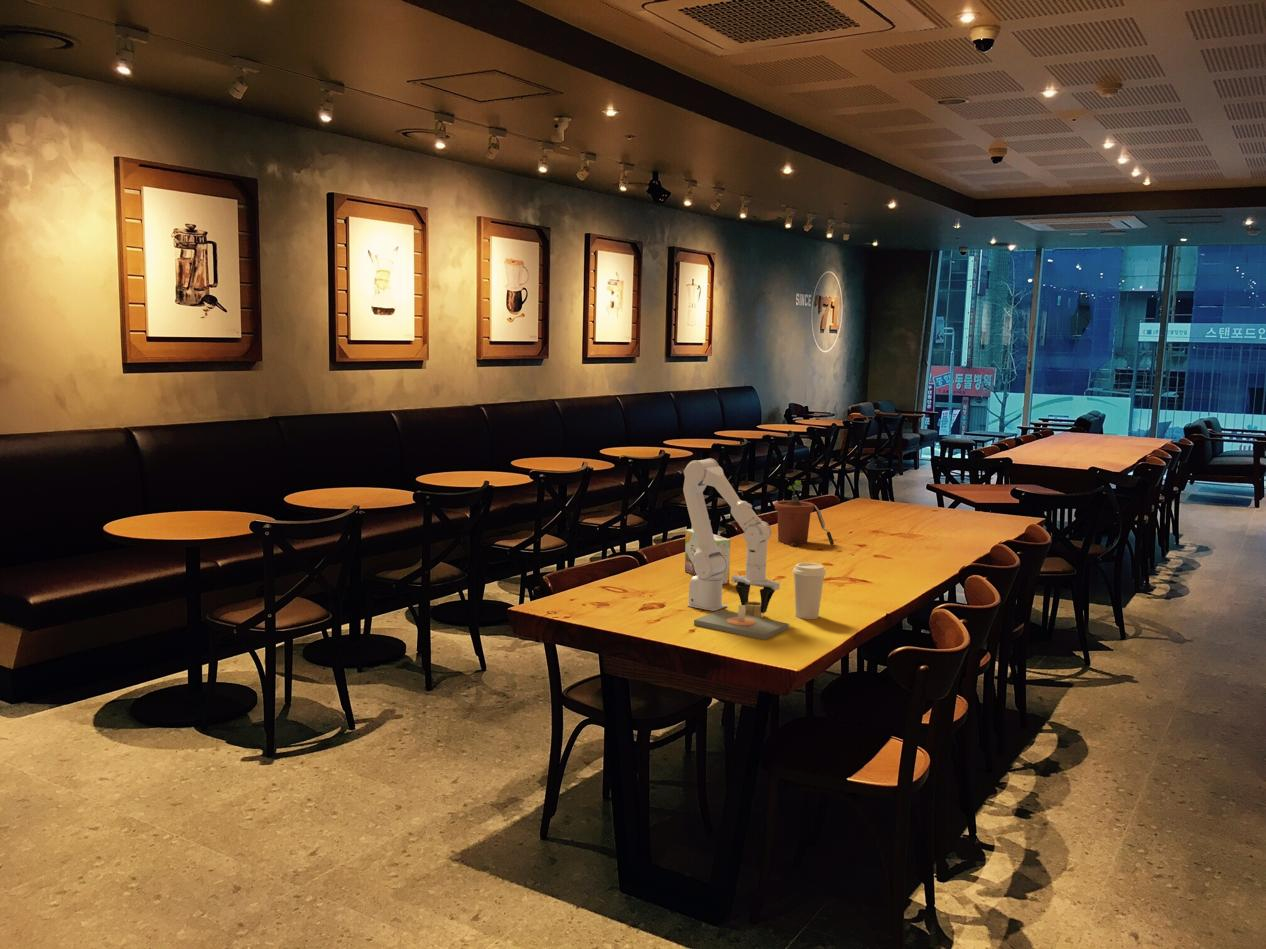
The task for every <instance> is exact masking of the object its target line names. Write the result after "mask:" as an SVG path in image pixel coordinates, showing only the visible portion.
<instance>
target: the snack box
mask: <svg viewBox="0 0 1266 949" xmlns="http://www.w3.org/2000/svg"><path fill="white" fill-rule="evenodd" d="M713 536H714V540H715V543H716V545H718V546H719V547H720V548H721V551H722V554H723V555H724V557H725V558H726V560H727V564H728V565H727V569H726V571H725V572H724V573H723V582H722V585H729V584H730V564H731V563H730V562H731V560H730V558H731V539H729V538H727V537H723V536H721V535H717V534H714V533H713ZM684 537H685V539H684V540H685V541H684V542H685V546H684V548H685V550H684V551H685V552H684V554H685V555H684V557H685V558H684V572H685V573H687V572H688V574H690V575H692V576H694V575H697V574H696V572H695V569H694V565H695V558H694V554H695V552H696V550H697V544H696V540H695V536H694V532H693V528H688V529H685V536H684Z"/></svg>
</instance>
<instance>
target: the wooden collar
mask: <svg viewBox="0 0 1266 949" xmlns="http://www.w3.org/2000/svg"><path fill="white" fill-rule="evenodd" d="M744 605H745V615H747V616H752V617H758V618H763V619H764V617H765V613H761V601H757V600H750V601H749V600H748V601H747V602H745V603H744Z"/></svg>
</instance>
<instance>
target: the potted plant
mask: <svg viewBox="0 0 1266 949" xmlns="http://www.w3.org/2000/svg"><path fill="white" fill-rule="evenodd" d="M801 485H802V482H801V480H795V481H794V487H793V486H792V485H789V486H788V487H787V490H790V491H793V499H790V500H778V501H775V502H774V510H776V511H777V542H778V541H779V542H781V543H785V544H784V545H787V544H790V545H789V547H790V546H794V547H793V548H796V547H795V546H801V547H802V546H804V545H803V544H805V545H807V544H808V541H809V540H808V538H809V531H810V530H809V529H810V521H811V514H812V513H814V509H815V513H816V515H817V518H818V521H819V523H820V524H819V525H820V527H821V529H822V530H823V531H826V536H827V538H828V542H829V544H830V545H834V544H835V541H834V539H833V536H832V533H831V532H830V531H829V530H828V529H826V528H825V527H826V524H825V520H824V518H823V514H822V512H821V511H820V509H819V508H818V507H817V505H815V504H814V503H812V502H808V501H802V500H801V501H800V500H798V499H796V491H795V490H796V487H799V486H801ZM779 542H778V543H779ZM781 543H780V544H781Z"/></svg>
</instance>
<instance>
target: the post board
mask: <svg viewBox="0 0 1266 949" xmlns="http://www.w3.org/2000/svg"><path fill="white" fill-rule="evenodd" d="M693 625H694V626H696V627H701V628H706V629H711V630H716V631H720V632H725V633H730V634H735V635H739V636H744V637H749V638H754V639H759V640H763V641H765V640H767V639H769V638H772V637H773V636H776V635H779V634H780V633H783V632H785V631H787V630H789V623H786V622H783V621H778V620H772V619H768V618H764V617H763V618H758V617H752V616H747V615H745V605H741V604H739V605H738V613H736V612H731V611H728V610H721V609H719V610H716V611H712V612H711V613H709V614H705V615H703V616H701V617H698V618H695V619H694V620H693Z"/></svg>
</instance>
